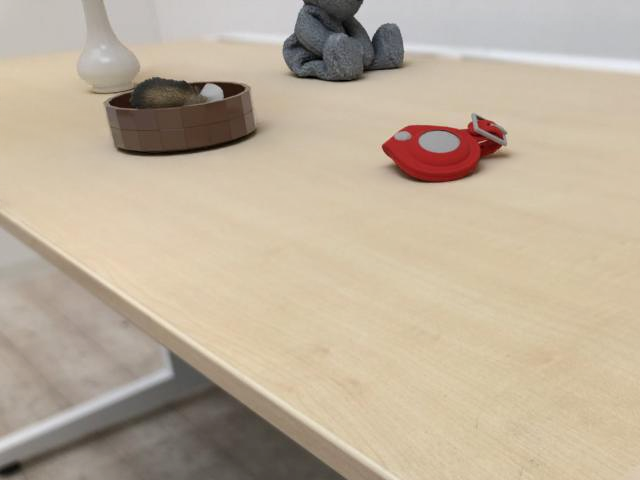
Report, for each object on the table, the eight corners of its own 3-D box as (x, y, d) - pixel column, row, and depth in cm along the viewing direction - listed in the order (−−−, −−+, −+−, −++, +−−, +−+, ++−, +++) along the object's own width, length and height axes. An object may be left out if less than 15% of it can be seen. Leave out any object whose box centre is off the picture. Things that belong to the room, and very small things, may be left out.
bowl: (83, 150, 91) (71, 105, 89) (185, 119, 104) (176, 79, 102) (190, 161, 84) (180, 113, 82) (284, 126, 97) (278, 83, 95)
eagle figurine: (175, 113, 99) (118, 115, 91) (196, 62, 95) (139, 59, 87) (219, 150, 97) (165, 156, 90) (242, 100, 94) (188, 101, 86)
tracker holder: (457, 175, 70) (363, 140, 73) (455, 215, 73) (364, 180, 77) (519, 114, 78) (430, 85, 81) (514, 153, 81) (429, 124, 84)
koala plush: (348, 84, 120) (332, -62, 111) (260, 78, 129) (239, -57, 120) (412, 65, 133) (403, -67, 124) (328, 61, 142) (314, -62, 133)
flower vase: (60, 105, 117) (7, -88, 106) (83, 84, 134) (40, -86, 122) (151, 96, 120) (110, -93, 108) (164, 77, 136) (129, -90, 124)
